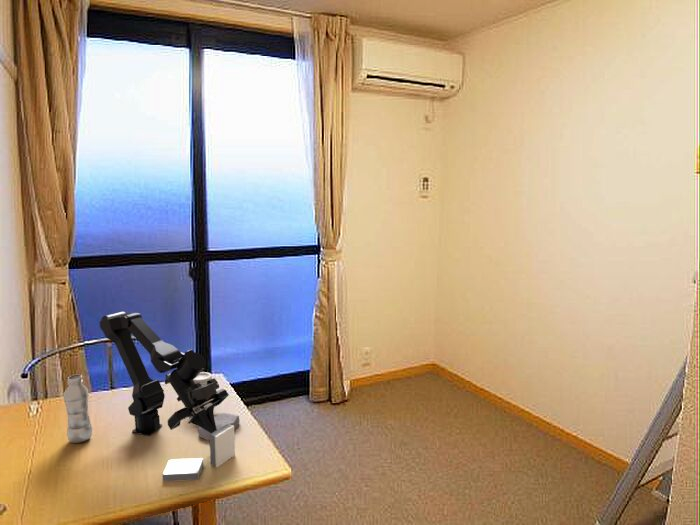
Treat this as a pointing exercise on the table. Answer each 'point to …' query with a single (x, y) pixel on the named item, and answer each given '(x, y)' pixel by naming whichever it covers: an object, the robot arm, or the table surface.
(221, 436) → the tile
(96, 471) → the table surface
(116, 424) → the table surface
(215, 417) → the stone block
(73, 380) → the plastic bottle
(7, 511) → the table surface
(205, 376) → the coffee cup
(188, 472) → the twin tile
